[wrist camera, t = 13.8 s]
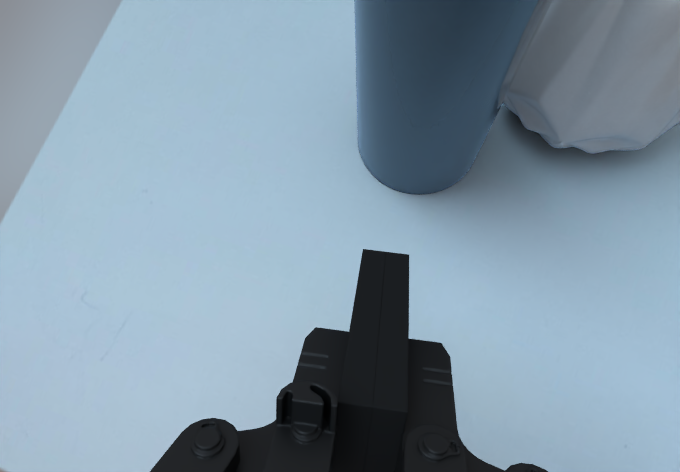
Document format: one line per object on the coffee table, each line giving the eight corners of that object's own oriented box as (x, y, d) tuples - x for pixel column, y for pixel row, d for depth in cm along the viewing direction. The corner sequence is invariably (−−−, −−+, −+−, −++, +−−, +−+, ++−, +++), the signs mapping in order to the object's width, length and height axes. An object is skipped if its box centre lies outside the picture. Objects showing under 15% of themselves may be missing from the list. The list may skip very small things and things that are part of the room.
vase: (712, 90, 38) (929, -94, 23) (586, 209, 36) (738, 88, 21) (568, -20, 41) (679, -240, 27) (445, 83, 39) (493, -96, 25)
